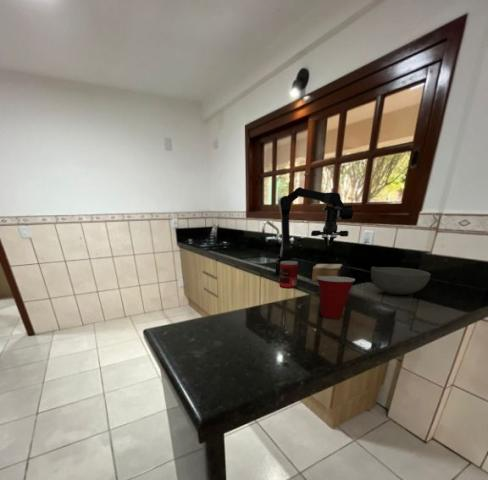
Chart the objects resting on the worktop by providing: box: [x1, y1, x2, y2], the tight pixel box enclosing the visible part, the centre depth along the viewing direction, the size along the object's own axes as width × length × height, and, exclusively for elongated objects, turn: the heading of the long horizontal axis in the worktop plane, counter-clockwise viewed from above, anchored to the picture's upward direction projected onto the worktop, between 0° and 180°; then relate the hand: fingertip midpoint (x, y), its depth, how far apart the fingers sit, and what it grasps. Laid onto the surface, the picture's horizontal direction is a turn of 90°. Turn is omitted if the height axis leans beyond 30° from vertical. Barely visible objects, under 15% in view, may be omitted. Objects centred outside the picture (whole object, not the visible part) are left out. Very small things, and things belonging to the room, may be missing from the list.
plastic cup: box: [317, 276, 356, 319], centre depth 79 cm, size 11×11×12 cm
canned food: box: [278, 260, 299, 290], centre depth 116 cm, size 8×8×11 cm
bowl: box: [370, 266, 432, 296], centre depth 104 cm, size 20×20×10 cm
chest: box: [311, 268, 341, 282], centre depth 133 cm, size 12×13×6 cm
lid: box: [312, 263, 343, 270], centre depth 132 cm, size 12×13×1 cm
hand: (327, 250), depth 144 cm, fingers closed
